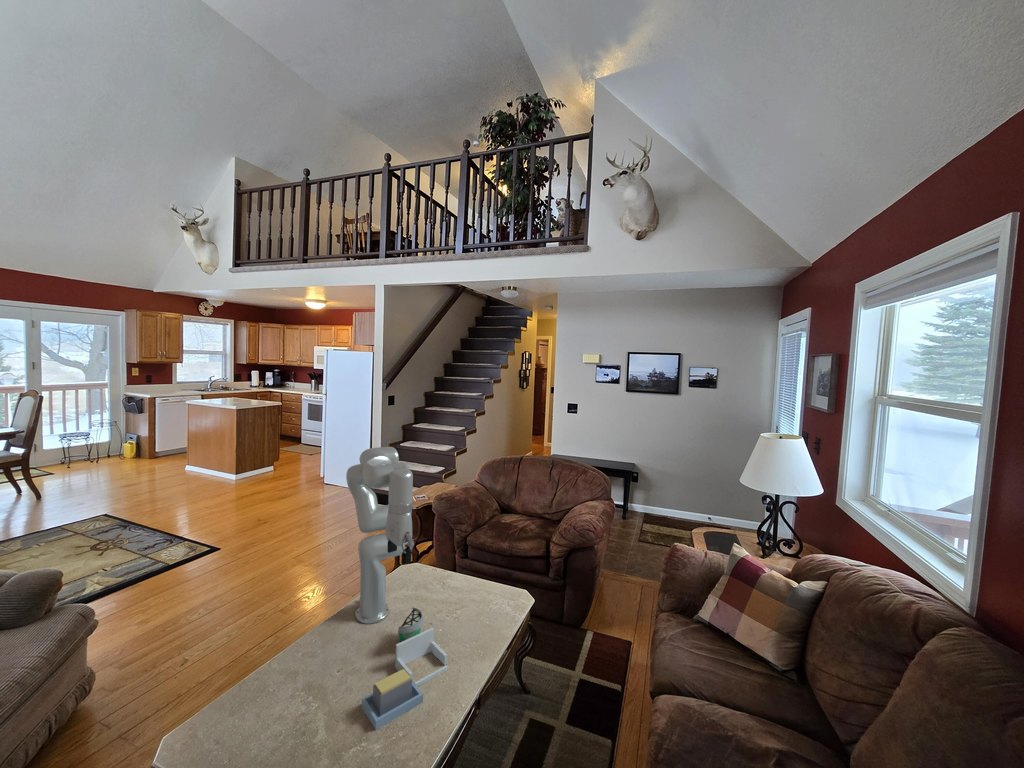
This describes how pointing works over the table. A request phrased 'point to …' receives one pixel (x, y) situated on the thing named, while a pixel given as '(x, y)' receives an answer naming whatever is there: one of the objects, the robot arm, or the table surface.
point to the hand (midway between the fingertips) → (399, 557)
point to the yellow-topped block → (392, 692)
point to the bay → (419, 653)
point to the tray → (394, 713)
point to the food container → (411, 625)
